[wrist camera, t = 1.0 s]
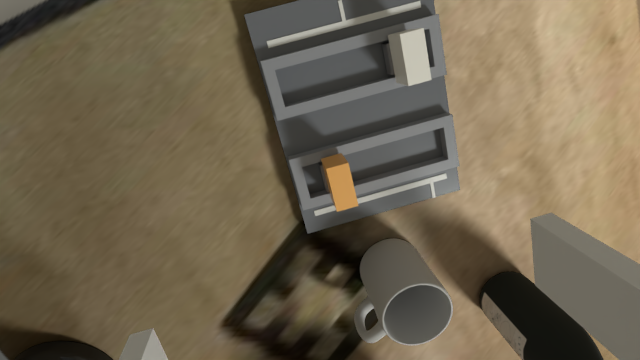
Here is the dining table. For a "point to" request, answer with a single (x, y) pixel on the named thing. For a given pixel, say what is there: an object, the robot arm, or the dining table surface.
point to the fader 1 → (338, 181)
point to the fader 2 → (407, 57)
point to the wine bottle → (534, 321)
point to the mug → (401, 295)
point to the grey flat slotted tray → (355, 103)
